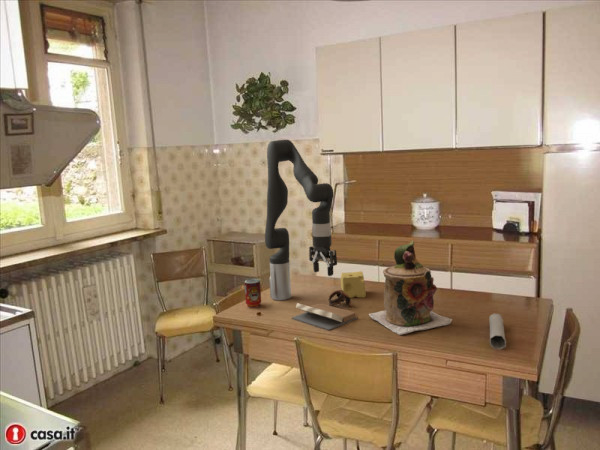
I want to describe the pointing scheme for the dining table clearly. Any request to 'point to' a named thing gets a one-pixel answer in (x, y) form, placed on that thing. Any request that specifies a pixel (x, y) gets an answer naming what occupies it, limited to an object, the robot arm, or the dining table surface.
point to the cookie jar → (408, 295)
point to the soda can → (252, 292)
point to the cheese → (353, 284)
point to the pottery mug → (339, 298)
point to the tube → (497, 332)
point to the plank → (319, 312)
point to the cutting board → (326, 322)
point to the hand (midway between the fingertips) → (323, 273)
